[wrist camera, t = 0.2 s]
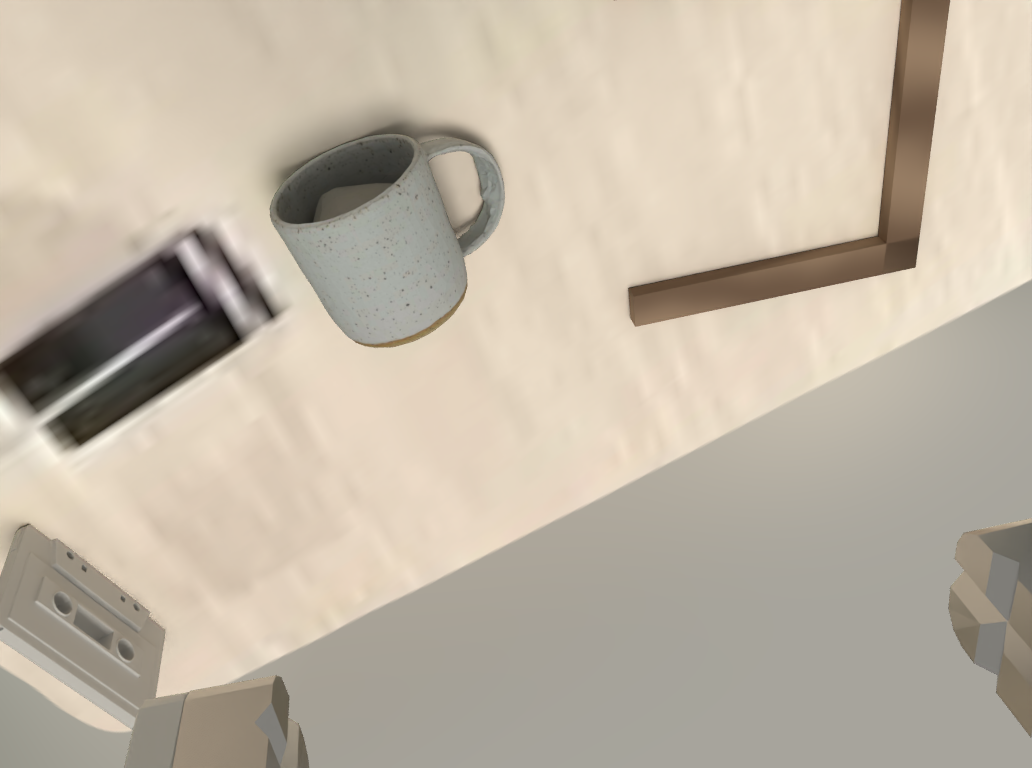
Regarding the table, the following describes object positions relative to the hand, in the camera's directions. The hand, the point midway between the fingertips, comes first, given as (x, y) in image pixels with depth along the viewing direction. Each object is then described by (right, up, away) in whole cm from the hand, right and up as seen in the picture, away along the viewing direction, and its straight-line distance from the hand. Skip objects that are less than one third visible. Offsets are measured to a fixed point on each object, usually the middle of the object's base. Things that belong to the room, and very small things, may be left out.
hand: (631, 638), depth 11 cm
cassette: (-27, -9, +48) cm, 56 cm away
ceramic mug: (-8, +13, +38) cm, 41 cm away
